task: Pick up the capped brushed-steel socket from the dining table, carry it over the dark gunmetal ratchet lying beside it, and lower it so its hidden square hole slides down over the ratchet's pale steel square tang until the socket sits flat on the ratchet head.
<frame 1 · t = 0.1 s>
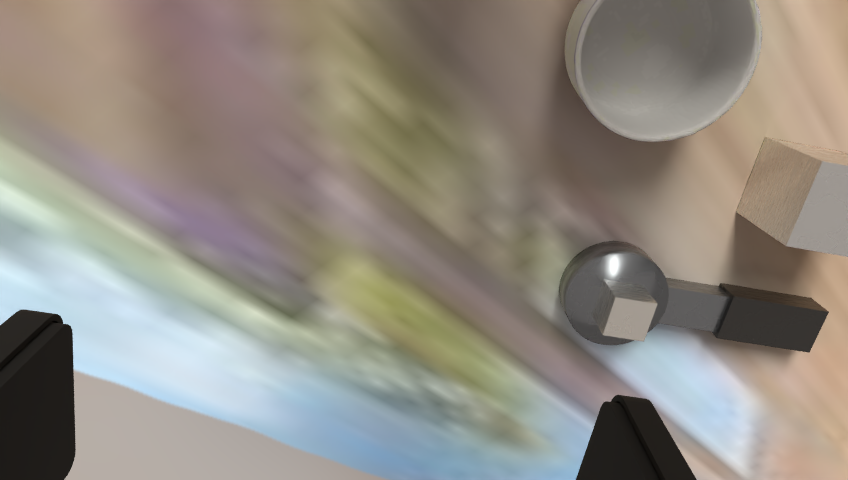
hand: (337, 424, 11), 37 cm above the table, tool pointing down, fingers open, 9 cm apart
socket: (786, 182, 48), on the table
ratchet: (608, 286, 51), on the table
teacup: (621, 19, 44), on the table
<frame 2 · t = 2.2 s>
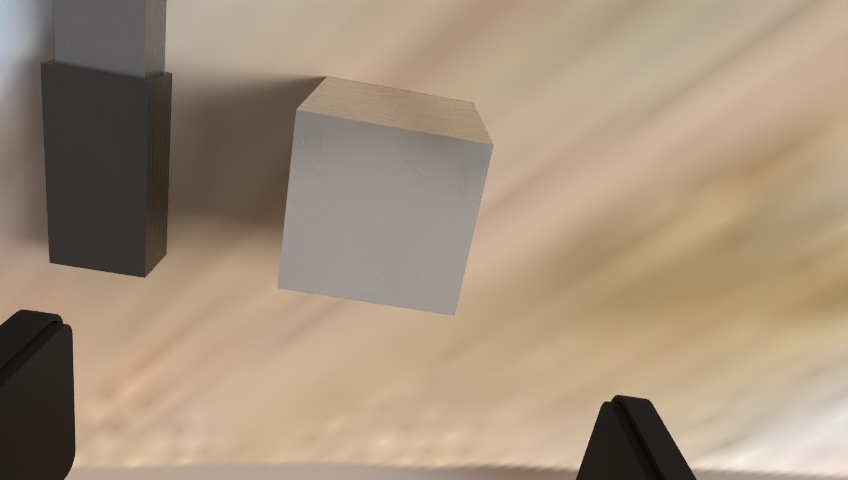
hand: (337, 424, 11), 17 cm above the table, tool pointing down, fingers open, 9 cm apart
socket: (389, 161, 26), on the table
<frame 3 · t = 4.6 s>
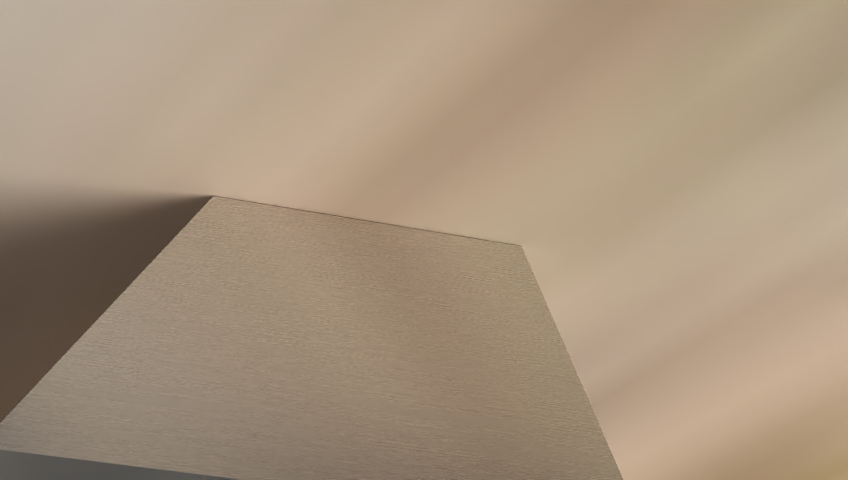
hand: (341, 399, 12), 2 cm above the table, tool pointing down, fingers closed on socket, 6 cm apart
socket: (349, 353, 13), on the table, touching gripper
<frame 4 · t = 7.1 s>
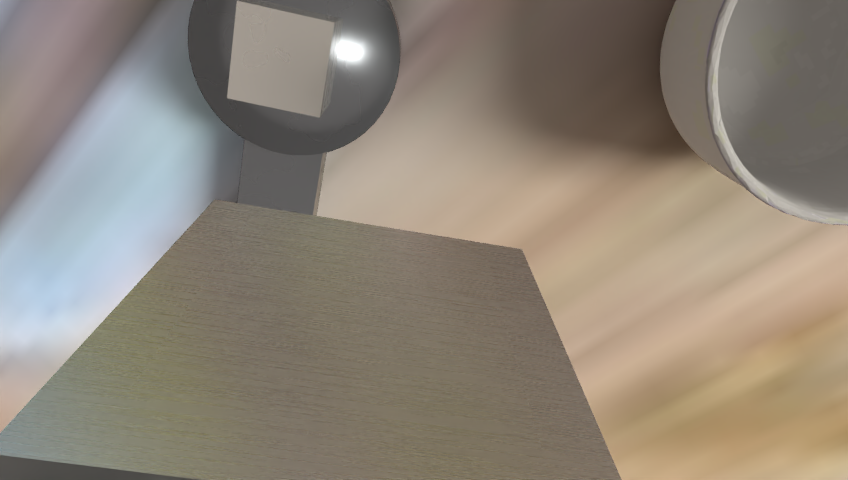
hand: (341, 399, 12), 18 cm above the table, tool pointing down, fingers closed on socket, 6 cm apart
socket: (350, 356, 13), point 16 cm above the table, touching gripper
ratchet: (304, 47, 26), on the table
teacup: (792, 29, 27), on the table
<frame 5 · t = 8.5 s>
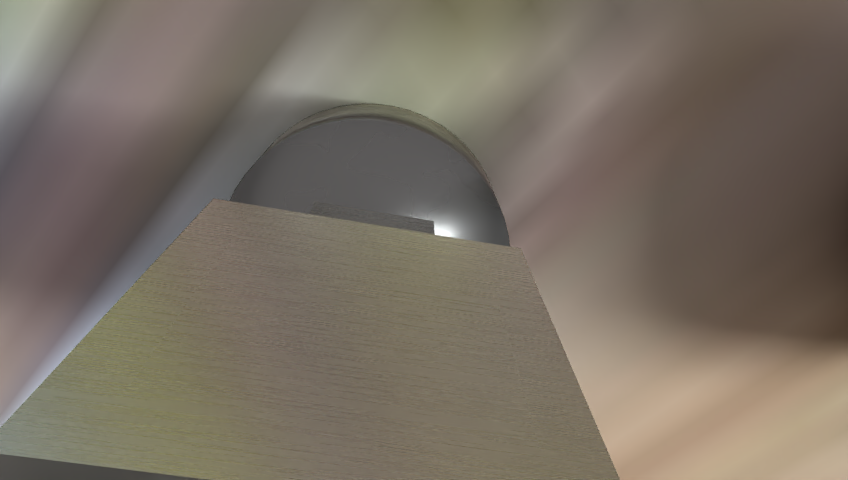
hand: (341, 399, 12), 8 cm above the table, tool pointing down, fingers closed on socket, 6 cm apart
socket: (349, 355, 13), point 7 cm above the table, touching gripper
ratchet: (370, 232, 20), on the table
when the fingers open (5 cm above the table, at t = 9.8 s): socket stays where it is, resting on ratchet.
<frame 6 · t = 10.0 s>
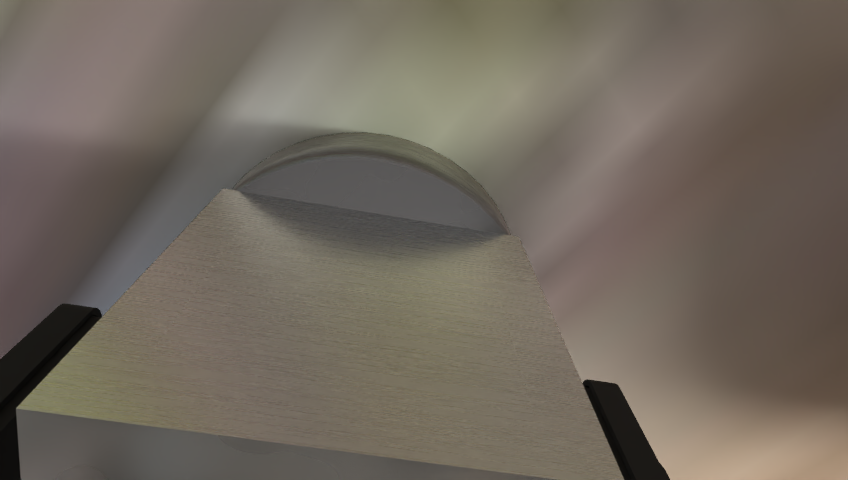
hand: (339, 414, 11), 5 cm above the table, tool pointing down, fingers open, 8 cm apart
socket: (353, 341, 14), point 2 cm above the table, touching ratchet
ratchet: (361, 287, 16), on the table, touching socket
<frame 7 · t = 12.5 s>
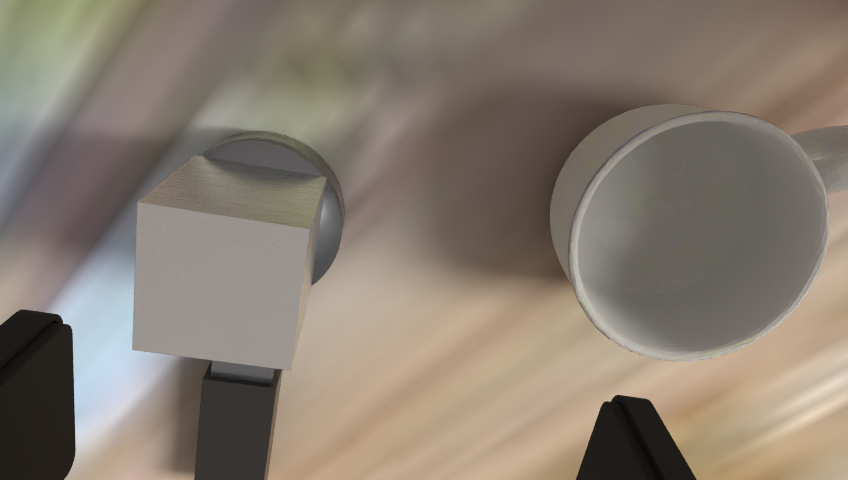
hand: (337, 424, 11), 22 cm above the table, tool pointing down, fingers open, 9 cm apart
socket: (254, 226, 30), point 2 cm above the table, touching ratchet
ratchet: (265, 209, 32), on the table, touching socket
teacup: (660, 181, 33), on the table
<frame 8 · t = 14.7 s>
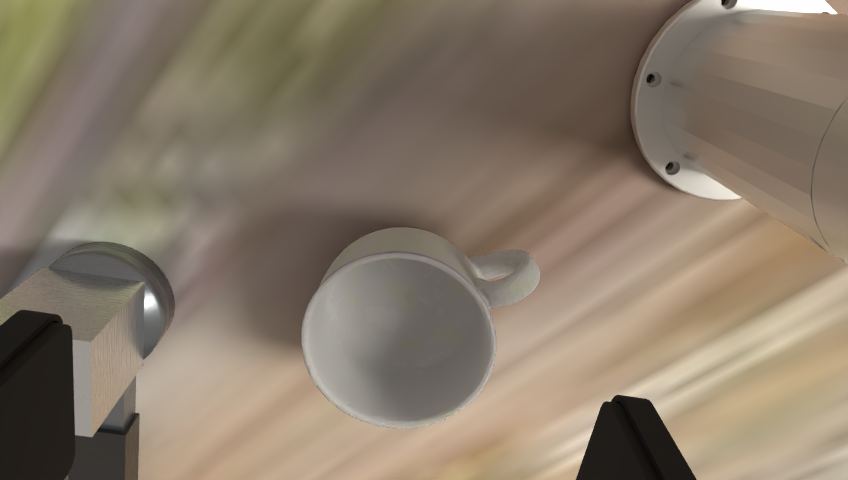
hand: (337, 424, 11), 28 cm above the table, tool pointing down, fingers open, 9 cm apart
socket: (94, 317, 39), point 2 cm above the table, touching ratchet
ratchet: (112, 298, 41), on the table, touching socket
teacup: (423, 276, 42), on the table
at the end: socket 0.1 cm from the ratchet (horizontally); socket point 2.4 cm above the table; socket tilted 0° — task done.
